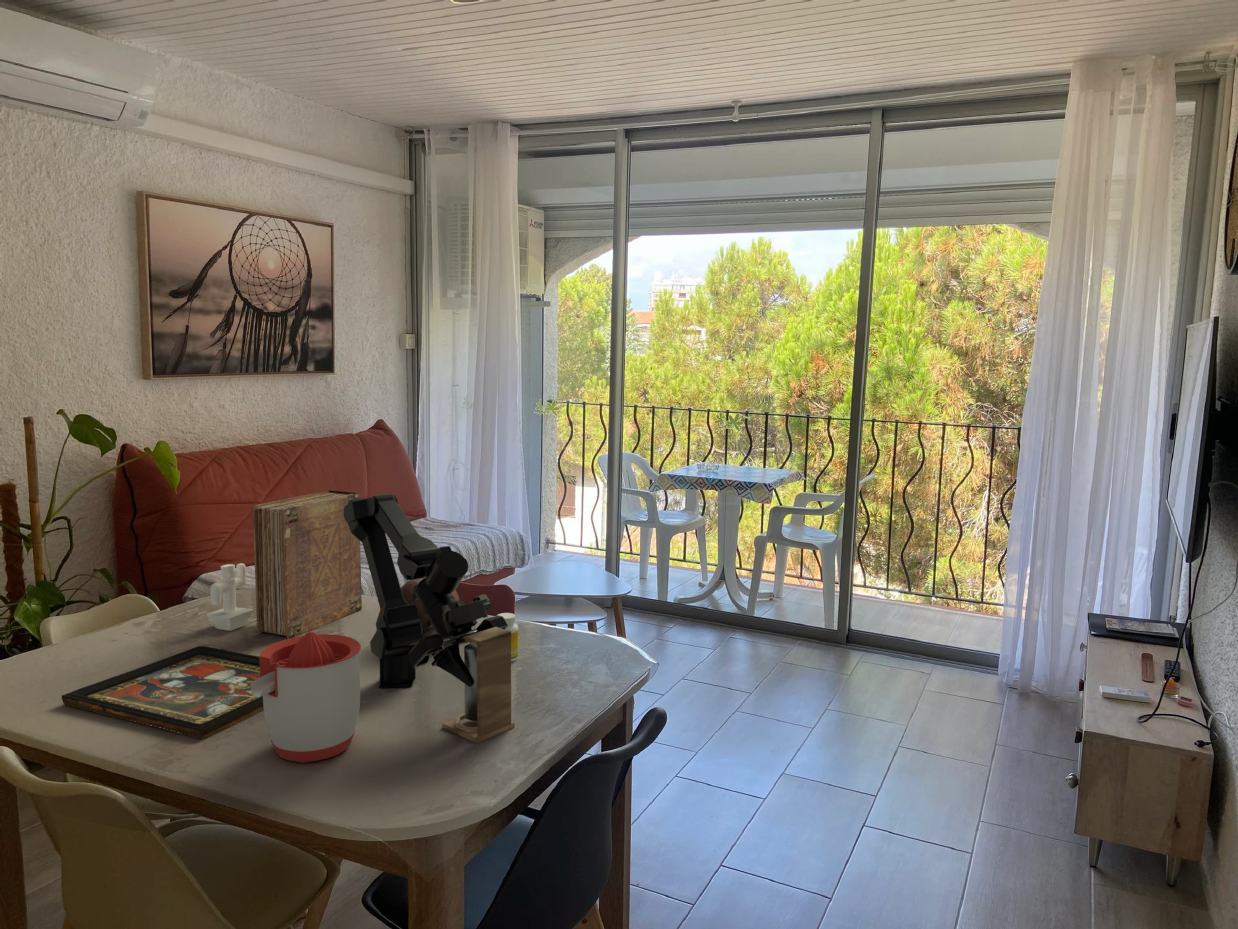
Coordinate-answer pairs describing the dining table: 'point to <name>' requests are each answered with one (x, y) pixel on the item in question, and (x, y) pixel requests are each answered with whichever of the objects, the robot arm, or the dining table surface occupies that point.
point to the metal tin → (471, 692)
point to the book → (305, 563)
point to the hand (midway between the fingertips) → (482, 681)
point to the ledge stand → (489, 687)
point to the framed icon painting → (180, 692)
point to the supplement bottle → (512, 633)
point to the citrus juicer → (310, 695)
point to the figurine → (229, 599)
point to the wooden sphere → (407, 595)
